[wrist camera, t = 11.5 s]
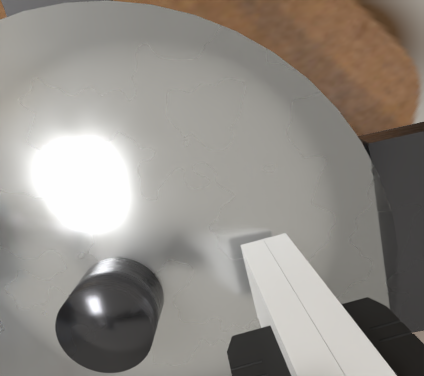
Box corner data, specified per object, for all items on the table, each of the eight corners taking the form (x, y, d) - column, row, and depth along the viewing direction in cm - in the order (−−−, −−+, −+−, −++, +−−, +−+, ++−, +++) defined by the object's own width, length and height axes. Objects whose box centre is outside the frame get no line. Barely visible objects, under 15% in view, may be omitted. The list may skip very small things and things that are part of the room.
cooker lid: (-12, 482, 19) (-65, 574, 16) (-220, 93, 14) (-371, 101, 10) (465, 416, 16) (527, 507, 13) (429, -89, 11) (515, -159, 8)
